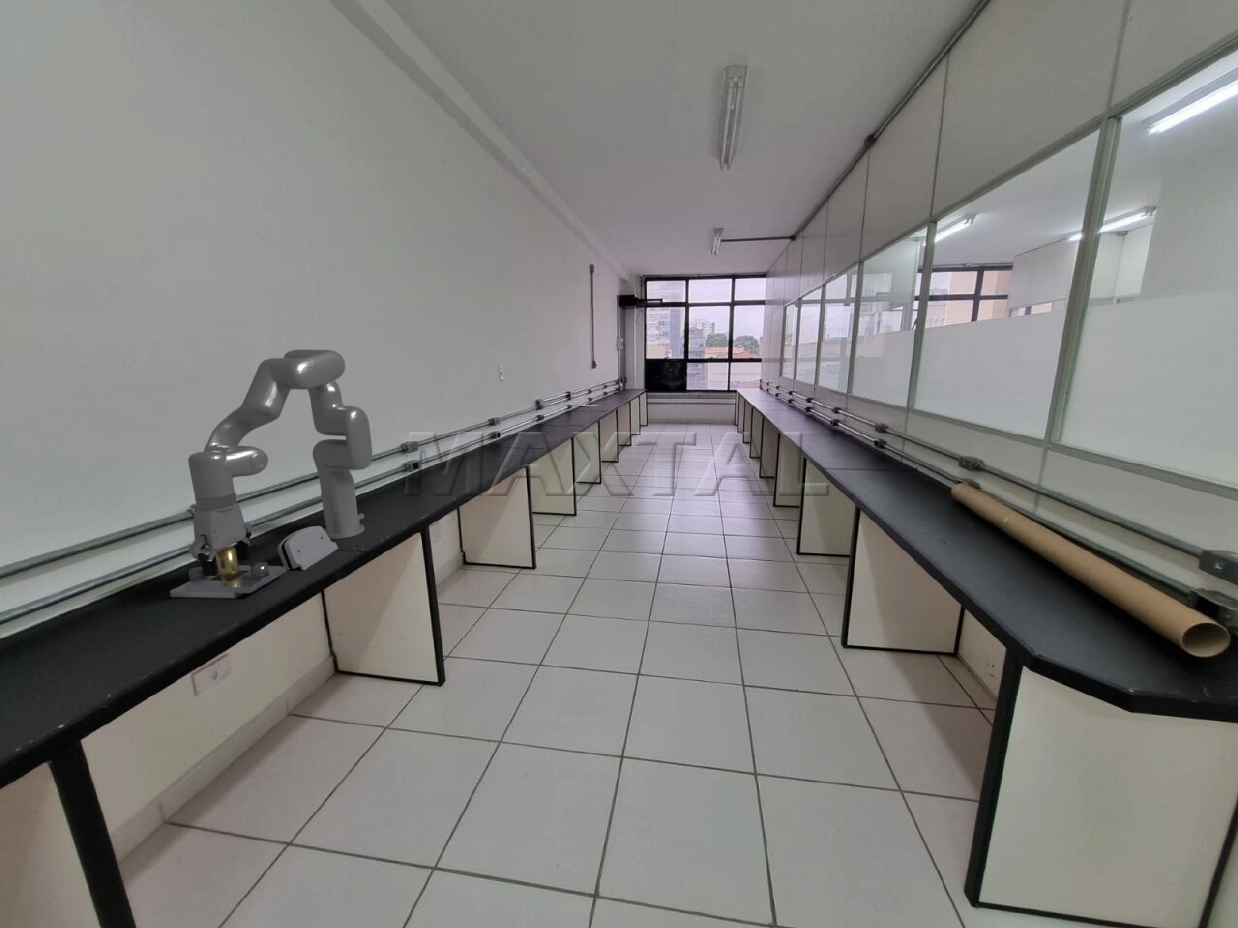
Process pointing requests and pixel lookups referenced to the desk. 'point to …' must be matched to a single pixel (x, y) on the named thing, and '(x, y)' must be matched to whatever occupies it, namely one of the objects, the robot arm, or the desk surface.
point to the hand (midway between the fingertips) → (228, 566)
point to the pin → (227, 564)
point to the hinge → (305, 547)
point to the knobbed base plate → (227, 582)
